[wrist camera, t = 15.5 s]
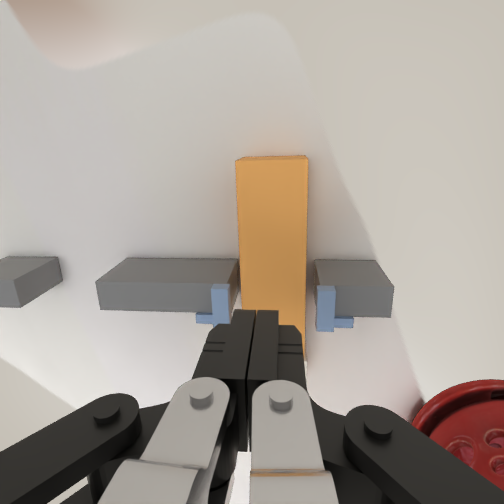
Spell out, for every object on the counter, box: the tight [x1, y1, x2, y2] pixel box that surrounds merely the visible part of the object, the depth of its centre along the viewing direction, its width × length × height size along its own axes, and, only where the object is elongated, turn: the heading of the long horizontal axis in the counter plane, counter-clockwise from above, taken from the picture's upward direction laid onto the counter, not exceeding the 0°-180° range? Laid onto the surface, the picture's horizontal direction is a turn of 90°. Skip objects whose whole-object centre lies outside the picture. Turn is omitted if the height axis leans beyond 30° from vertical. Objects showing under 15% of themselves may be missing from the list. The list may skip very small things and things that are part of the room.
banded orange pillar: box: [235, 155, 308, 376], centre depth 23 cm, size 4×16×4 cm, turn 2°
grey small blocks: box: [0, 257, 394, 332], centre depth 23 cm, size 28×3×5 cm, turn 91°
